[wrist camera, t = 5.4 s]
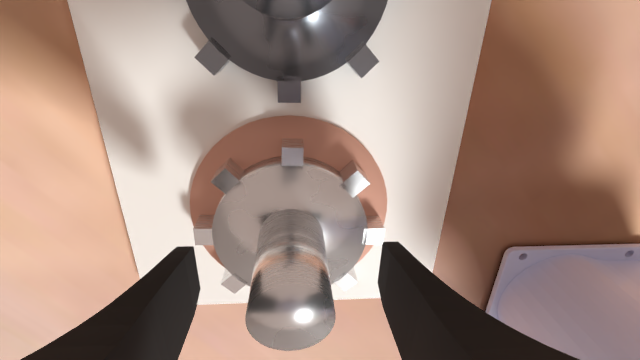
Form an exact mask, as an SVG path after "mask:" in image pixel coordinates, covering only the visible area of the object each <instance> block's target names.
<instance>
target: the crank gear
mask: <svg viewBox="0 0 640 360" xmlns="http://www.w3.org/2000/svg"><path fill="white" fill-rule="evenodd" d="M387 1H388V0H186V2H187V4H188V6H189V9H190V11H191V13H192V15H193V17H194V19H195V20H196V22H197V24H198V26H199V27H200V29H201V30H202V32H203V33H204V34H205V36H206V37H207V39H208V40H209V41H208V42H207V43H206V44H205V45H204V47H203V48H202V49H201V50H200V51H199V52H198V54H197V55H196V56H195V57H194V58H195V59H196V60H198V61H199V62H200V63H201V64H202V65H203V66H204V67H205V68H206V69H207V70H208V71H209V72H210V73H211V74H213V75H214V76H215V75H216V74H218V73H219V72H221V70H222V69H223V68H224V67H225V66H226V65H227V64H228V63H229V61H231V62H233V63H234V64H236V65H237V66H239V67H240V68H242V69H244V70H246V71H248V72H250V73H252V74H255V75H257V76H260V77H263V78H267V79H271V80H276V81H277V88H278V103H301V81H305V80H310V79H315V78H318V77H321V76H324V75H326V74H328V73H330V72H332V71H334V70H336V69H338V68H340V67H341V66H343V65H344V64H346V63H347V64H348V65H349V66H350V68H351V69H352V70H353V71H354V72H355V73H356V74H357V75H358V76H359V77H360V78H363V77H364V76H365V75H366V74H367V73H368V72H369V71H370V70H371V69H372V68H373V67H374V66H375V65H376V64H377V63H378V62H379V60H378V59H377V58H376V56H375V55H374V54H373V53H372V52H371V50H370V49H369V48H368V47H367V45H366V43H367V42H368V40H369V39H370V37H371V36H372V35H373V33H374V31H375V30H376V28H377V26H378V24H379V22H380V20H381V18H382V15H383V13H384V10H385V8H386V5H387Z"/></svg>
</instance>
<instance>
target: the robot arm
mask: <svg viewBox="0 0 640 360" xmlns="http://www.w3.org/2000/svg"><path fill="white" fill-rule="evenodd" d="M521 254H522V255H521ZM377 283H378V287H379V292H380V297H381V301H382V305H383V308H384V311H385V314H386V317H387V320H388V323H389V325H390V328H391V331H392V334H393V336H394V339H395V342H396V344H397V347H398V350H399V353H400V355H401V358H402V360H640V244H603V245H563V246H523V247H510V248H508V249H507V250H506V251H505V253H504V256H503V259H502V262H501V265H500V268H499V271H498V274H497V277H496V280H495V283H494V286H493V290H492V293H491V296H490V299H489V302H488V305H487V308H486V311H485V312H484V311H483V310H481V309H479V308H478V307H477V306H475V305H474V304H472V303H471V302H469V301H468V300H466V299H465V298H463V297H462V296H461V295H459V294H458V293H457V292H455V291H454V290H453V289H451V288H450V287H449V286H448V285H446V284H445V283H444V282H443V281H441V280H440V279H439V278H438V277H437V276H435V275H434V274H433V273H432V272H431V271H430V270H428V269H427V268H426V267H425V266H424V265H423V264H422V263H421V262H420V261H419V260H417V259H416V258H415V257H414V256H413V255H412V254H411V253H410V252H409V251H408V250H407V249H406V248H405V247H404V246H403V245H401V244H400V243H399V242H398V241H397V242H383V244H382V252H381V259H380V267H379V275H378V282H377ZM200 289H201V288H200V282H199V276H198V270H197V264H196V258H195V252H194V246H181V247H176V248H175V249H173V250H172V251H171V252H170V253H169V254H168V255H167V256H166V257H165V258H163V259H162V260H161V261H160V262H159V263H158V264H157V265H156V266H155V267H154V268H152V269H151V270H150V271H149V272H148V273H147V274H146V275H144V276H143V277H142V278H141V279H140V280H139V281H138V282H136V283H135V284H134V285H133V286H132V287H130V288H129V289H128V290H127V291H125V292H124V293H123V294H122V295H120V296H119V297H118V298H117V299H115V300H114V301H113V302H112V303H110V304H109V305H108V306H106V307H105V308H103V309H102V310H101V311H99V312H98V313H96V314H95V315H94V316H92V317H91V318H89V319H88V320H86V321H85V322H83V323H82V324H80V325H79V326H77V327H76V328H74V329H72V330H71V331H69V332H67V333H66V334H64V335H62V336H61V337H59V338H58V339H56V340H54V341H53V342H51V343H49V344H48V345H46V346H44V347H43V348H41V349H39V350H37V351H35V352H33V353H32V354H30V355H28V356H26V357H24V358H23V359H21V360H178V357H179V355H180V352H181V349H182V347H183V344H184V341H185V339H186V336H187V333H188V331H189V328H190V325H191V323H192V320H193V317H194V314H195V310H196V306H197V302H198V298H199V293H200Z"/></svg>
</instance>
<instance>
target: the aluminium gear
mask: <svg viewBox="0 0 640 360" xmlns="http://www.w3.org/2000/svg"><path fill="white" fill-rule="evenodd" d="M303 154H304V146H303V139H291V138H282V156H278V157H272V158H269V159H265V160H262V161H260V162H257V163H255V164H253V165H251V166H249V167H248V168H246V169H244V170H243V169H242V168H241V167H240V166H239V165H237V164H236V163H235V162H234V161H233V160H232V159H231V158H229V159H228V160H227V161H226V162H225V163H224V164H223V165H222V166H221V167H220V168H219V169H218V170H216V172H215V174H214V176H213V178H212V180H211V183H212V184H214V185H215V186H216V187H217V188H219V189H220V190H221V191H222V192H223V195H222V197H221V200H220V202H219V204H218V207H217V209H216V212H215V215H199V218H198V220H197V222H196V224H195V226H194V228H193V232H194V240H195V245H214V248H215V251H216V253H217V255H218V257H219V259H220V261H221V262H222V264H223V265H224V267H225V270H224V274H223V278H222V281H221V285H222V286H224V287H225V288H227V289H228V290H230V291H231V292H233V293H234V294H235V293H236V292H238V291H239V290H240V289H241V288H242V287H244V286H245V285H248V286H250V293H249V299H248V305H247V311H246V326H247V329H248V331H249V333H250V334H251V335H252V337H253V338H254V339H255V340H257V341H258V342H259V343H261V344H263V345H265V346H267V347H269V348H273V349H277V350H284V351H292V350H300V349H304V348H308V347H310V346H313V345H315V344H317V343H318V342H320V341H321V340H323V339H324V338H325V337H326V336H327V335H328V334H329V333H330V331H331V330H332V328H333V326H334V323H335V309H334V302H333V296H332V289H331V285H332V284H335V285H337V286H338V287H339V288H340V289H342V290H343V291H344V292H345V291H346V290H348V289H349V288H351V287H352V286H353V285H355V284H356V283H357V282H358V281H357V277H356V273H355V269H354V266H355V264H356V263H357V262H358V260H359V258H360V256H361V255H362V253H363V250H364V247H365V245H367V244H383V237H384V231H385V228H384V226H383V224H382V221H381V219H380V217H379V216H372V215H365V211H364V209H363V206H362V204H361V201H360V199H359V196H358V193H360V192H361V191H362V190H363V189H365V188H366V187H367V186H368V185H370V182H369V180H368V178H367V176H366V174H365V172H364V171H363V170H362V169H361V168H360V167H359V166H358V165H357V164H356V163H355V162H354V161H353V160H352V161H351V162H350V163H349V164H348V165H346V166H345V167H344V168H343V169H342V170H341V171H338V170H336V169H335V168H333V167H332V166H330V165H328V164H326V163H324V162H322V161H319V160H316V159H313V158H309V157H304V156H303Z"/></svg>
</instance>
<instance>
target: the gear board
mask: <svg viewBox="0 0 640 360" xmlns="http://www.w3.org/2000/svg"><path fill="white" fill-rule="evenodd" d="M67 1H68V5H69V9H70V13H71V17H72V21H73V24H74V28H75V32H76V36H77V40H78V44H79V47H80V51H81V55H82V59H83V63H84V66H85V70H86V74H87V78H88V82H89V86H90V89H91V93H92V97H93V101H94V105H95V109H96V112H97V116H98V120H99V124H100V128H101V132H102V135H103V139H104V143H105V147H106V151H107V154H108V158H109V162H110V166H111V170H112V174H113V177H114V181H115V185H116V189H117V193H118V197H119V200H120V204H121V208H122V212H123V216H124V220H125V223H126V227H127V231H128V235H129V239H130V242H131V246H132V250H133V254H134V258H135V262H136V265H137V269H138V273H139V277H140V279H141V278H142V277H143V276H144V275H146V274H147V273H148V272H149V271H150V270H151V269H152V268H154V267H155V266H156V265H157V264H158V263H159V262H160V261H161V260H162V259H163V258H165V257H166V256H167V255H168V254H169V253H170V252H171V251H172V250H173V249H175V248H176V247H181V246H194V252H195V258H196V264H197V270H198V276H199V282H200V288H201V289H200V293H199V298H198V302H197V305H204V304H231V303H248V299H249V293H250V286H248V285H245V286H244V287H242V288H241V289H240V290H239V291H238V292H236V293H235V294H234V293H233V292H231V291H230V290H228V289H227V288H225V287H224V286H222V285H221V281H222V278H223V274H224V270H225V267H224V265H223V264H222V262H221V261H220V259H219V257H218V255H217V253H216V251H215V248H214V245H195V240H194V232H193V228H194V226H195V224H196V222H197V220H198V218H199V215H215V212H216V209H217V207H218V204H219V202H220V200H221V197H222V195H223V192H222V191H221V190H220V189H219V188H217V187H216V186H215V185H214V184H212V183H211V180H212V178H213V176H214V174H215V172H216V170H218V169H219V168H220V167H221V166H222V165H223V164H224V163H225V162H226V161H227V160H228V159H229V158H231V159H232V160H233V161H234V162H235V163H236V164H237V165H239V166H240V167H241V168H242V169H243V170H244V169H246V168H248V167H249V166H251V165H253V164H255V163H257V162H260V161H262V160H265V159H269V158H272V157H278V156H282V138H291V139H303V146H304V154H303V156H304V157H309V158H313V159H316V160H319V161H322V162H324V163H326V164H328V165H330V166H332V167H333V168H335V169H336V170H338V171H341V170H342V169H343V168H344V167H345V166H346V165H348V164H349V163H350V162H351V161H352V160H353V161H354V162H355V163H356V164H357V165H358V166H359V167H360V168H361V169H362V170H363V171H364V172H365V174H366V176H367V178H368V180H369V182H370V185H368V186H367V187H366V188H365V189H363V190H362V191H361V192H360V193H358V196H359V199H360V201H361V204H362V206H363V209H364V211H365V215H372V216H379V217H380V219H381V221H382V224H383V226H384V228H385V231H384V237H383V242H397V241H398V242H399V243H400V244H401V245H403V246H404V247H405V248H406V249H407V250H408V251H409V252H410V253H411V254H412V255H413V256H414V257H415V258H416V259H417V260H419V261H420V262H421V263H422V264H423V265H424V266H425V267H426V268H427V269H428V270H430V271H431V272H433V268H434V263H435V259H436V254H437V249H438V245H439V240H440V236H441V231H442V226H443V222H444V217H445V213H446V208H447V203H448V199H449V194H450V190H451V185H452V180H453V176H454V171H455V167H456V162H457V157H458V153H459V148H460V144H461V139H462V135H463V130H464V125H465V121H466V116H467V112H468V107H469V102H470V98H471V93H472V89H473V84H474V79H475V75H476V70H477V66H478V61H479V56H480V52H481V47H482V43H483V38H484V34H485V29H486V24H487V20H488V15H489V11H490V6H491V1H492V0H388V1H387V5H386V8H385V10H384V13H383V15H382V18H381V20H380V22H379V24H378V26H377V28H376V30H375V31H374V33H373V35H372V36H371V37H370V39H369V40H368V42H367V43H366V45H367V47H368V48H369V49H370V50H371V52H372V53H373V54H374V55H375V56H376V58H377V59H378V60H379V62H378V63H377V64H376V65H375V66H374V67H373V68H372V69H371V70H370V71H369V72H368V73H367V74H366V75H365V76H364V77H363V78H360V77H359V76H358V75H357V74H356V73H355V72H354V71H353V70H352V69H351V68H350V66H349V65H348V64H347V63H346V64H344V65H343V66H341V67H340V68H338V69H336V70H334V71H332V72H330V73H328V74H326V75H324V76H321V77H318V78H315V79H310V80H305V81H301V103H278V88H277V81H276V80H271V79H267V78H263V77H260V76H257V75H255V74H252V73H250V72H248V71H246V70H244V69H242V68H240V67H239V66H237V65H236V64H234V63H233V62H231V61H229V63H228V64H227V65H226V66H225V67H224V68H223V69H222V70H221V72H219V73H218V74H216V75H215V76H214V75H213V74H211V73H210V72H209V71H208V70H207V69H206V68H205V67H204V66H203V65H202V64H201V63H200V62H199V61H198V60H196V59H195V58H194V57H195V56H196V55H197V54H198V52H199V51H200V50H201V49H202V48H203V47H204V45H205V44H206V43H207V42H208V41H209V40H208V39H207V37H206V36H205V34H204V33H203V32H202V30H201V29H200V27H199V26H198V24H197V22H196V20H195V19H194V17H193V15H192V13H191V11H190V9H189V6H188V4H187V2H186V0H67ZM381 252H382V244H367V245H365V247H364V250H363V253H362V255H361V256H360V258H359V260H358V262H357V263H356V264H355V266H354V269H355V273H356V277H357V281H358V282H357V283H356V284H355V285H353V286H352V287H351V288H349V289H348V290H346V291H345V292H344V291H343V290H342V289H340V288H339V287H338V286H337V285H335V284H332V285H331V289H332V296H333V300H339V299H366V298H381V297H380V292H379V287H378V283H377V282H378V275H379V267H380V259H381Z"/></svg>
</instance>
